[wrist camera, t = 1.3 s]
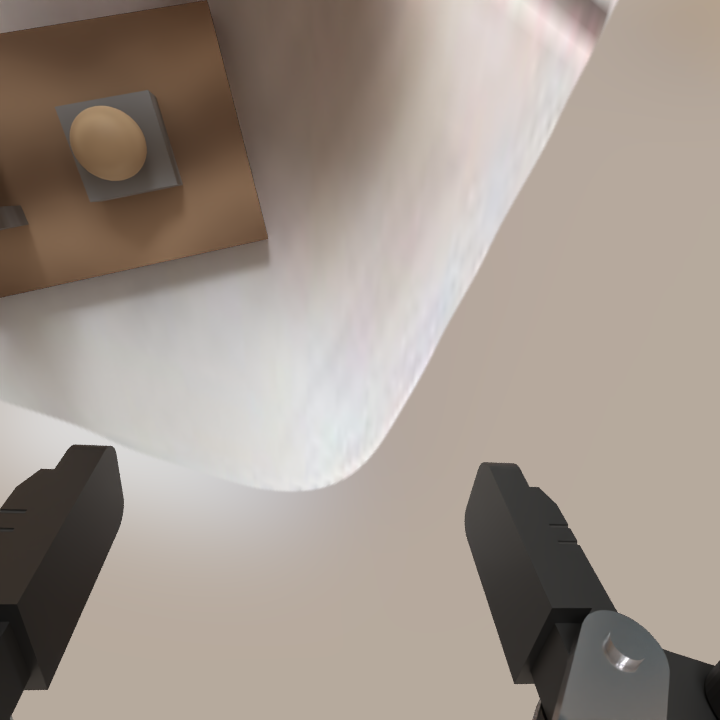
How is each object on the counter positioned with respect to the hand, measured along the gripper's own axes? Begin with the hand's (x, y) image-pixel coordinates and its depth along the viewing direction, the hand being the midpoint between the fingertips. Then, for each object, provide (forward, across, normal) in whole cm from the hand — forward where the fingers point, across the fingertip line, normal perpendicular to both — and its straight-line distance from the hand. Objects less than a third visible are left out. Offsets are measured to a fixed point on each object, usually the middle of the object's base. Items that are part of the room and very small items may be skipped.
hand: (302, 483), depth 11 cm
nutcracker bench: (+22, +14, -2) cm, 26 cm away
